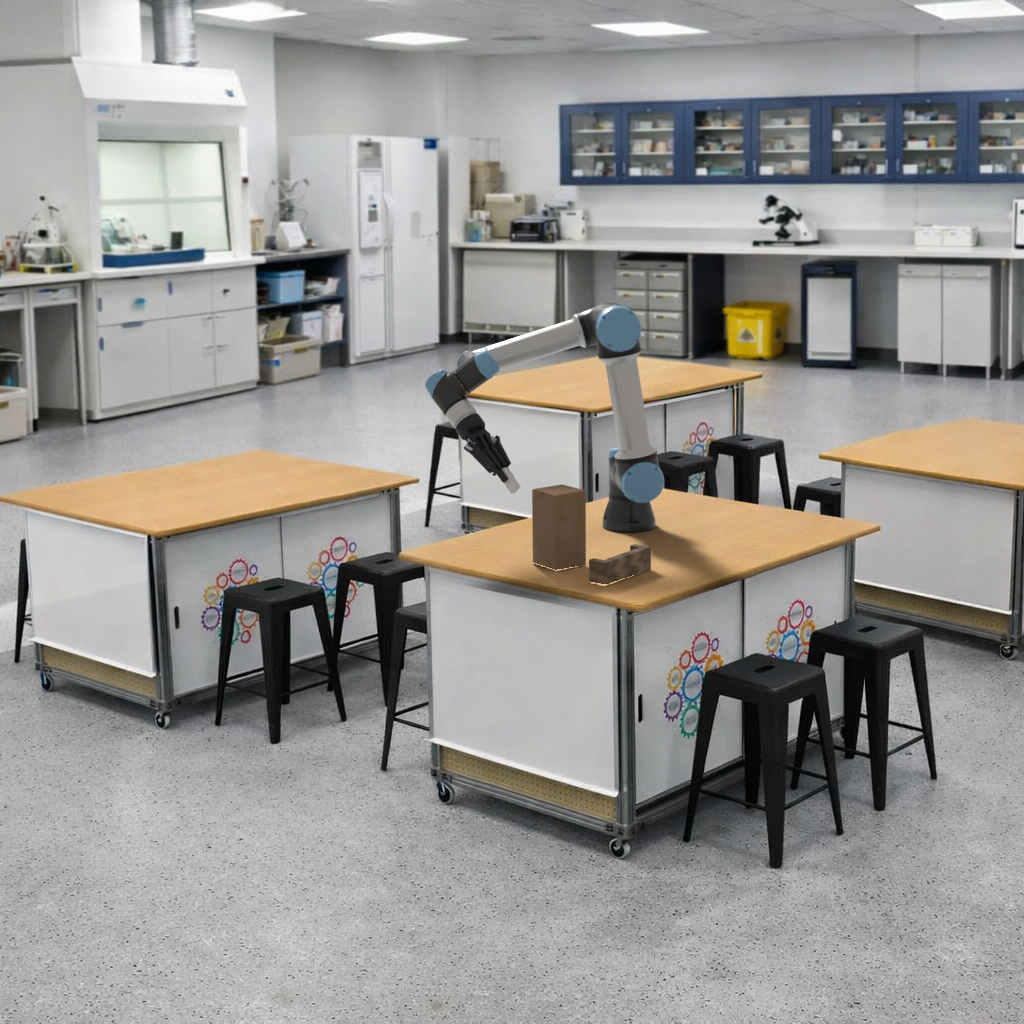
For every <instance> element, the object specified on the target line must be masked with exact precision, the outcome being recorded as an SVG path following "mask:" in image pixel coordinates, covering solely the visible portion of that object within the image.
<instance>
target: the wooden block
mask: <svg viewBox="0 0 1024 1024" xmlns="http://www.w3.org/2000/svg"><path fill="white" fill-rule="evenodd" d="M531 492H532V493H531V495H532V496H531V500H532V502H531V503H532V505H531V506H532V507H531V509H532V520H531V521H532V523H531V524H532V563H533V562H534V563H537V564H540V565H543V566H546V567H549V568H552V569H555V570H557V569H564V568H569V567H575V566H582V565H585V566H586V565H587V555H586V554H587V547H586V546H587V544H586V543H587V541H586V540H587V536H586V535H587V525H586V524H587V519H586V518H587V515H586V514H587V504H586V503H587V501H586V500H587V496H586V495H587V492H586V490H585V489H581V488H578V487H573V486H570V485H566V484H562V483H561V484H557V485H551V486H550V485H549V486H543V487H537V488H533V489H532V491H531ZM582 567H583V566H582Z"/></svg>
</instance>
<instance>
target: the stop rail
mask: <svg viewBox="0 0 1024 1024" xmlns="http://www.w3.org/2000/svg"><path fill="white" fill-rule="evenodd" d="M650 569H651V570H652V547H651V546H648V545H643V544H636V543H633V544H630V545H629V550H628V551H626V552H623V553H620V554H617V555H615V556H612V557H609V558H606V559H601V558H600V559H599V558H591V559H588V582H589V581H590V582H595V583H601V584H609V583H611V582H614V581H618V580H620V579H623V578H627V577H630V576H632V575H636V574H638V575H640V574H639V573H641V572H644V573H646V572H648V570H649V571H651V570H650ZM645 571H646V572H645ZM641 574H642V573H641ZM636 576H637V575H636ZM630 578H631V577H630Z"/></svg>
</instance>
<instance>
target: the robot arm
mask: <svg viewBox="0 0 1024 1024" xmlns="http://www.w3.org/2000/svg"><path fill="white" fill-rule="evenodd" d="M641 333H642V325H641V322H640V320H639V317H638V315H637V314H636V313H635V311H633V310H632V309H631V308H629V307H628V306H625V305H621V304H618V303H614V302H605V303H601V304H598V305H596V306H594V307H592V308H589V309H586V310H584V311H581V312H578V313H575V314H573V316H572V317H571V319H568V320H566V321H562V322H559V323H556V324H553V325H550V326H547V327H544V328H540V329H538V330H534V331H531V332H527V333H525V334H522V335H518V336H514V337H513V338H508V339H507V340H504V341H500V342H497V343H494V344H490V345H488V346H485V347H481V348H477V349H476V350H471V349H470V350H466V351H464V352H462V353H461V354H460V355H459V357H458V359H457V364H456V366H457V367H456V368H455V369H454V370H452V371H450V372H449V371H448V370H447V369H445V368H443V369H439V370H437V371H435V372H433V373H432V374H430V375H429V377H428V378H427V379H426V381H425V386H424V387H425V389H426V391H427V392H428V394H429V395H430V397H431V399H432V400H433V402H434V403H435V404H436V406H437V407H438V408H439V409H440V411H441V412H442V413H443V415H444V416H445V418H446V419H447V420H448V421H449V423H450V424H451V426H452V427H453V428H454V429H455V432H456V433H457V435H458V436H459V437H460V439H461V440H462V441H465V442H466V444H465V445H464V446H463V449H464V450H465V451H466V452H467V453H469V454H470V455H471V456H472V457H473V458H474V459H475V460H476V461H477V462H478V463H479V464H480V466H482V467H483V468H484V469H485V470H486V472H488V474H492V476H494V477H495V476H497V477H498V478H499V479H500V481H501V482H502V483H503V484H504V485H505V487H506V488H507V490H508V491H509V493H510V494H512V495H513V494H515V493H516V492H518V490H520V489H521V487H522V486H521V485H520V483H519V482H518V481H517V479H516V478H515V476H514V474H513V473H512V471H511V470H510V469H509V467H510V466H511V464H512V462H511V460H510V458H509V456H508V454H507V452H506V450H505V449H504V447H503V444H502V442H501V437H500V436H499V435H497V434H496V435H495V436H493V435H491V433H490V432H489V431H487V429H486V423H485V421H484V419H483V417H481V416H480V414H479V413H477V409H476V408H475V407H474V405H473V404H472V403H471V402H470V400H469V399H468V397H467V396H468V395H469V394H472V393H473V392H474V391H475V390H476V389H478V388H479V387H480V386H482V385H483V384H485V383H486V382H488V381H489V380H491V379H492V378H493V377H495V375H497V374H498V373H499V372H501V371H503V370H507V369H509V368H513V367H517V366H519V365H523V364H526V363H529V362H532V361H535V360H538V359H541V358H544V357H549V356H551V355H554V354H557V353H560V352H564V351H568V350H570V349H573V348H576V347H582V348H583V349H585V348H588V347H593V346H596V349H597V350H596V351H597V356H598V360H600V361H601V362H602V363H604V364H605V370H606V376H607V383H608V388H609V389H608V390H609V394H610V395H609V396H610V401H611V402H610V403H611V407H612V413H613V420H614V421H613V422H614V427H615V433H616V440H617V446H618V447H612V448H611V449H610V450H609V452H608V459H607V460H608V501H607V505H606V507H605V510H604V513H603V516H602V528H603V529H605V530H609V531H613V532H622V533H623V532H625V533H640V532H647V531H650V530H653V529H655V528H656V516H655V514H654V511H653V508H652V507H653V506H652V504H651V502H652V501H654V500H655V499H657V498H658V497H659V496H660V495H661V493H662V492H663V489H664V486H665V477H664V473H663V471H662V469H661V467H660V464H659V463H660V462H659V457H658V452H657V448H656V447H655V446H653V445H652V444H650V437H649V429H648V423H647V417H646V411H645V403H644V398H643V391H642V385H641V384H642V383H641V376H640V371H639V364H638V358H639V356H640V354H641V353H642V347H641V341H640V339H641V335H642V334H641Z"/></svg>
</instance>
